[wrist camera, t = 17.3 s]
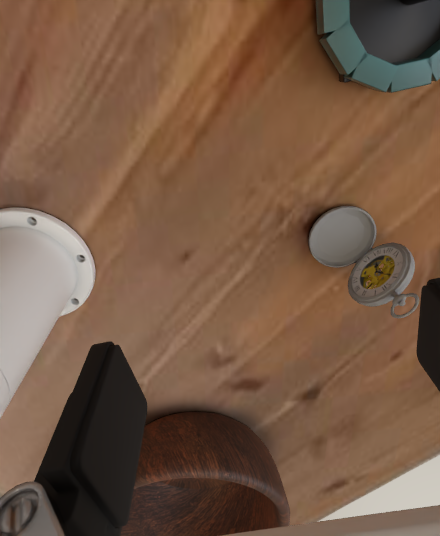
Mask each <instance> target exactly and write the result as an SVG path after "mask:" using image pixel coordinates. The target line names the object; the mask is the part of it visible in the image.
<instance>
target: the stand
mask: <svg viewBox="0 0 440 536" xmlns="http://www.w3.org/2000/svg"><path fill="white" fill-rule="evenodd" d="M349 8H350V24H351V26H352V27H353V29H354V31H355V33H356V35H357V36H358V38H359V40H360V42H361V43H362V45H363V47H364V49H365V50H366V52H367V53H368V54H371V55H373V56H375V57H378V58H380V59H382V60H385V61H387V62H389V63H396V62H401V61H405V60H409V59H414V58H418V57H419V56H420V55H421V54H422V53H424V52H425V51H426V50H427V49H428V48H430V47H431V46H432V45H433V44H435V43H436V42H437V41H438V40H439V39H440V0H349ZM339 81H340V82H344V83H345V82H349V81H351V80H349V79H347V78H344V74H340V73H339Z"/></svg>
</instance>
